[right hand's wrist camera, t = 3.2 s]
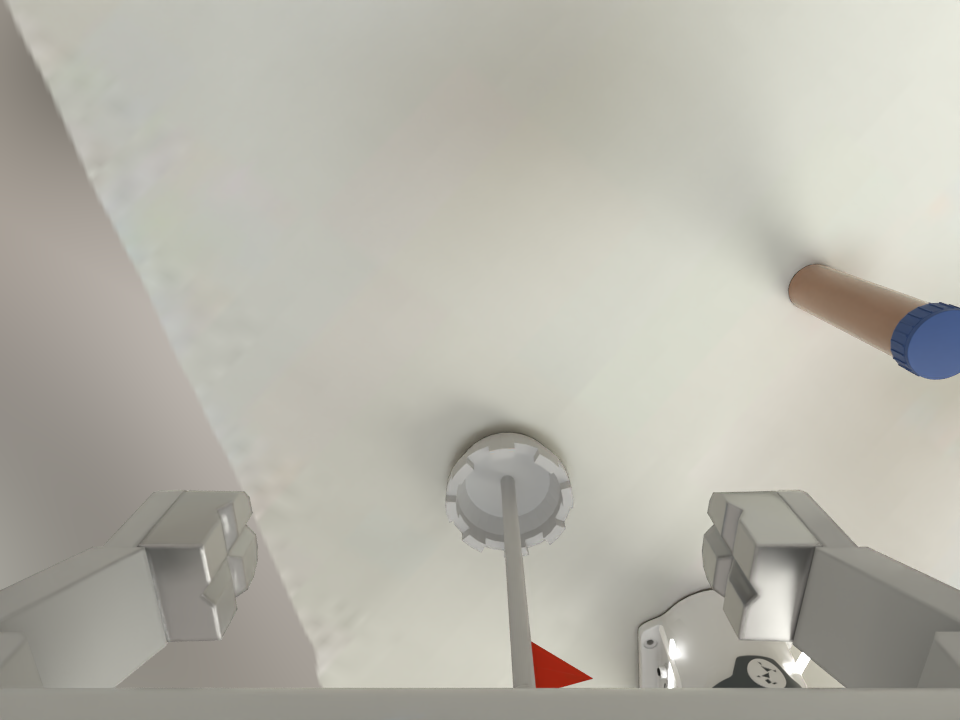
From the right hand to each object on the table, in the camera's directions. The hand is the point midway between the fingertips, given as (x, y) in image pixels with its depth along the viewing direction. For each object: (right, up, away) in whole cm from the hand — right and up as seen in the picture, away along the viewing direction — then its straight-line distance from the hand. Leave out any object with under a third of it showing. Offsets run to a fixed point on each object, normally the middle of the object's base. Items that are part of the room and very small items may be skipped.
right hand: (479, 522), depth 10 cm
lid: (+33, +4, +31) cm, 45 cm away
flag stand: (+3, -10, +55) cm, 56 cm away
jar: (+33, +10, +47) cm, 58 cm away
